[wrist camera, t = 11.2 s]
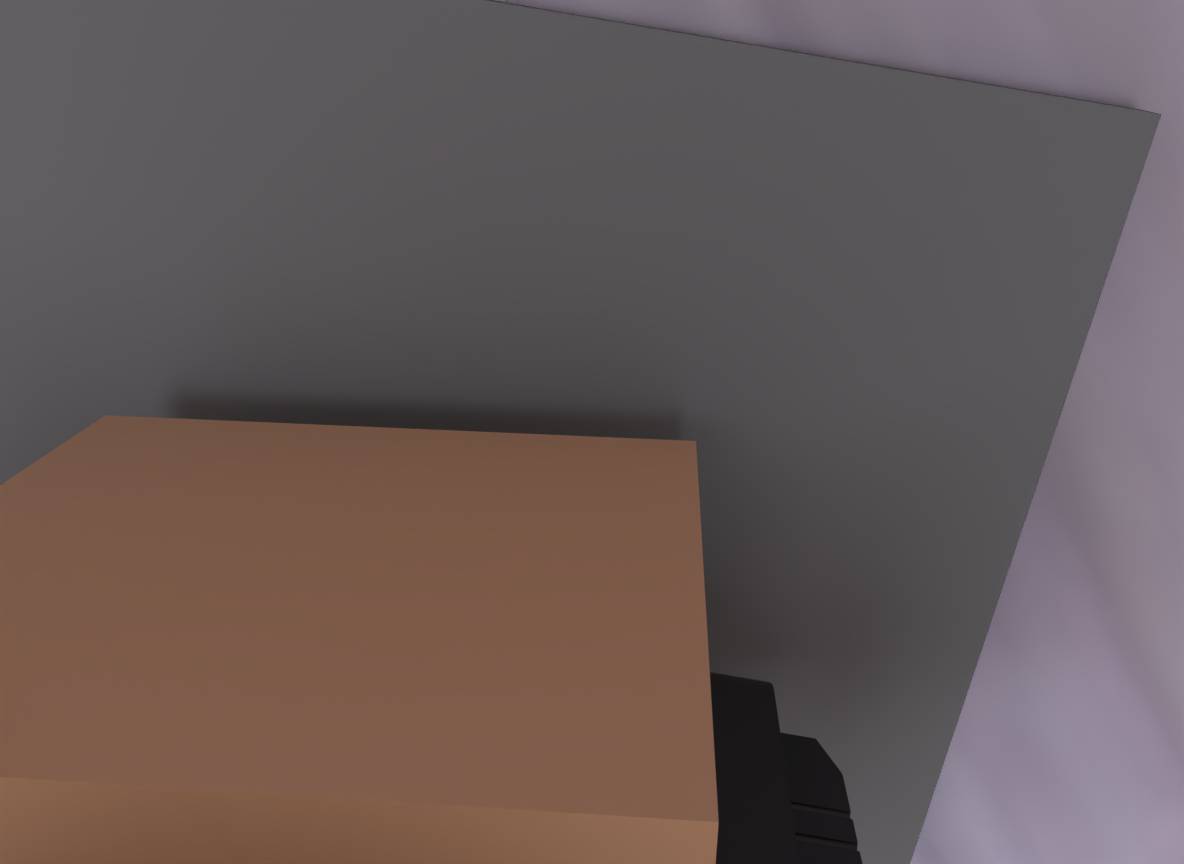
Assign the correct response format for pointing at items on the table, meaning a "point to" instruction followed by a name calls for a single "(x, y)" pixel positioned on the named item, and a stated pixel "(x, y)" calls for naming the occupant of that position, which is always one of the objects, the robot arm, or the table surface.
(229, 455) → the tan cube
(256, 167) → the rubber mat
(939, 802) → the table surface
